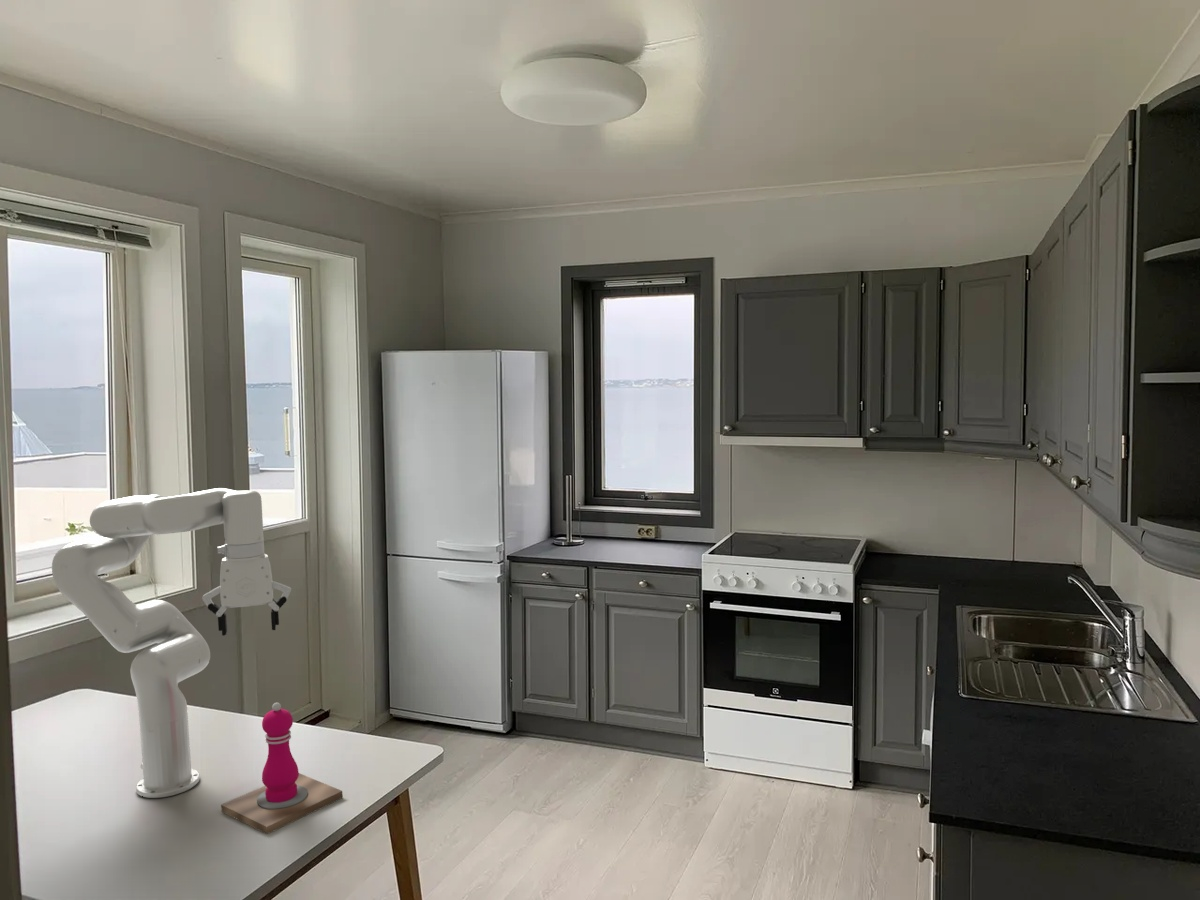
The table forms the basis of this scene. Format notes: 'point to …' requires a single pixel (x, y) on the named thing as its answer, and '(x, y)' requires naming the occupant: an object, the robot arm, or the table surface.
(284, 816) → the walnut board
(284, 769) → the pepper mill
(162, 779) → the robot arm
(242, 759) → the table surface
